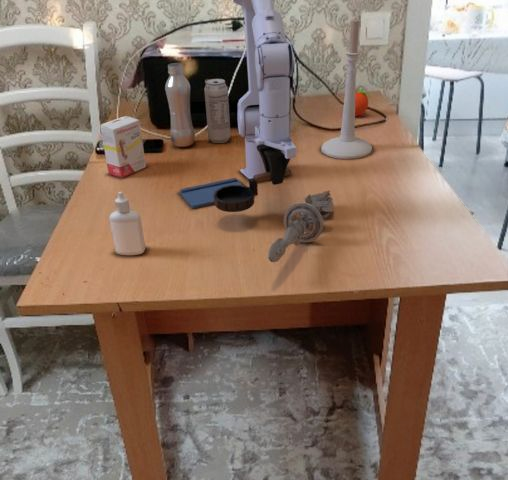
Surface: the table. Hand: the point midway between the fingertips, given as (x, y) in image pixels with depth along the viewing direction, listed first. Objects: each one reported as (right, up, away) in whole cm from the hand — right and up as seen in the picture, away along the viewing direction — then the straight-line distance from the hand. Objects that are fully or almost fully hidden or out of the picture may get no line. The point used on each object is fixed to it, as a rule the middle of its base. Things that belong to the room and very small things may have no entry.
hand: (275, 181), depth 121 cm
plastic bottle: (-23, +20, +38) cm, 49 cm away
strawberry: (+26, +34, +52) cm, 68 cm away
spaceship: (+5, -14, -6) cm, 16 cm away
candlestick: (+19, +17, +31) cm, 41 cm away
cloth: (-13, +1, +12) cm, 18 cm away
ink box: (-35, +10, +25) cm, 44 cm away
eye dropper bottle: (-28, -16, -7) cm, 33 cm away
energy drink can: (-14, +23, +40) cm, 48 cm away
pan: (-4, -3, 0) cm, 6 cm away
